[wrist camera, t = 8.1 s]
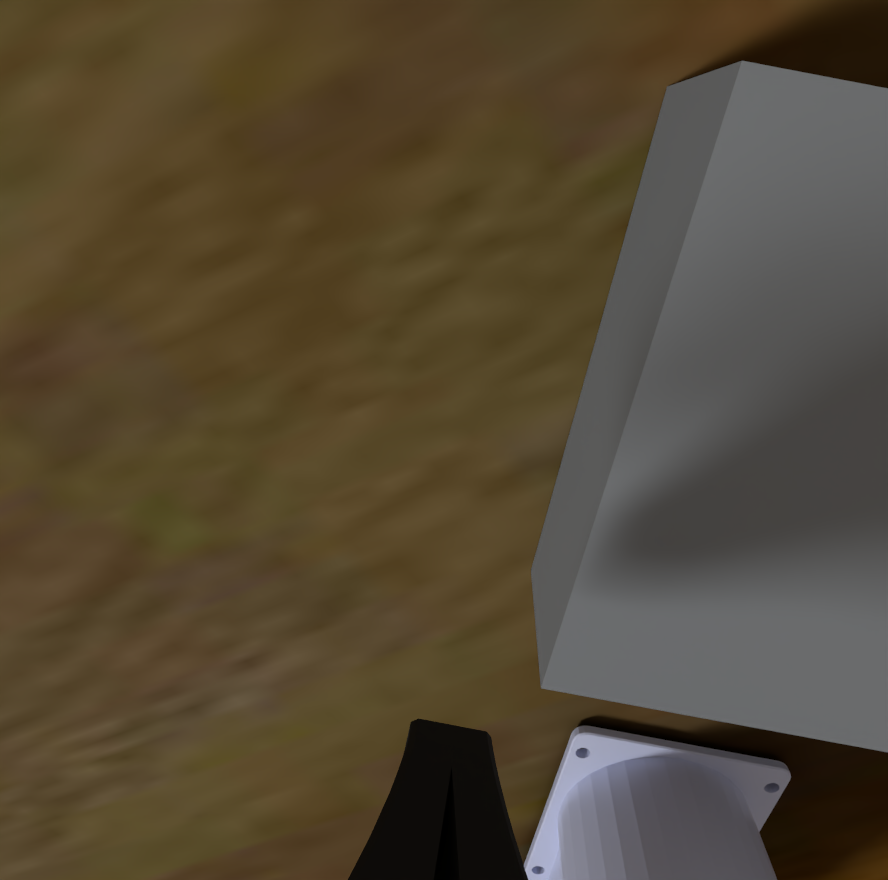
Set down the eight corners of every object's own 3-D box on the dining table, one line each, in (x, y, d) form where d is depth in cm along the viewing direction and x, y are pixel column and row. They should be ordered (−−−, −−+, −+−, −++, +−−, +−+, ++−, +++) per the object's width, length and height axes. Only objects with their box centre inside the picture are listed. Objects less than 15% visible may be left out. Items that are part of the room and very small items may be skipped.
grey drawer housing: (952, 648, 21) (1079, 787, 16) (531, 570, 21) (541, 688, 16) (1253, 198, 15) (1581, 221, 10) (667, 86, 15) (741, 60, 10)
